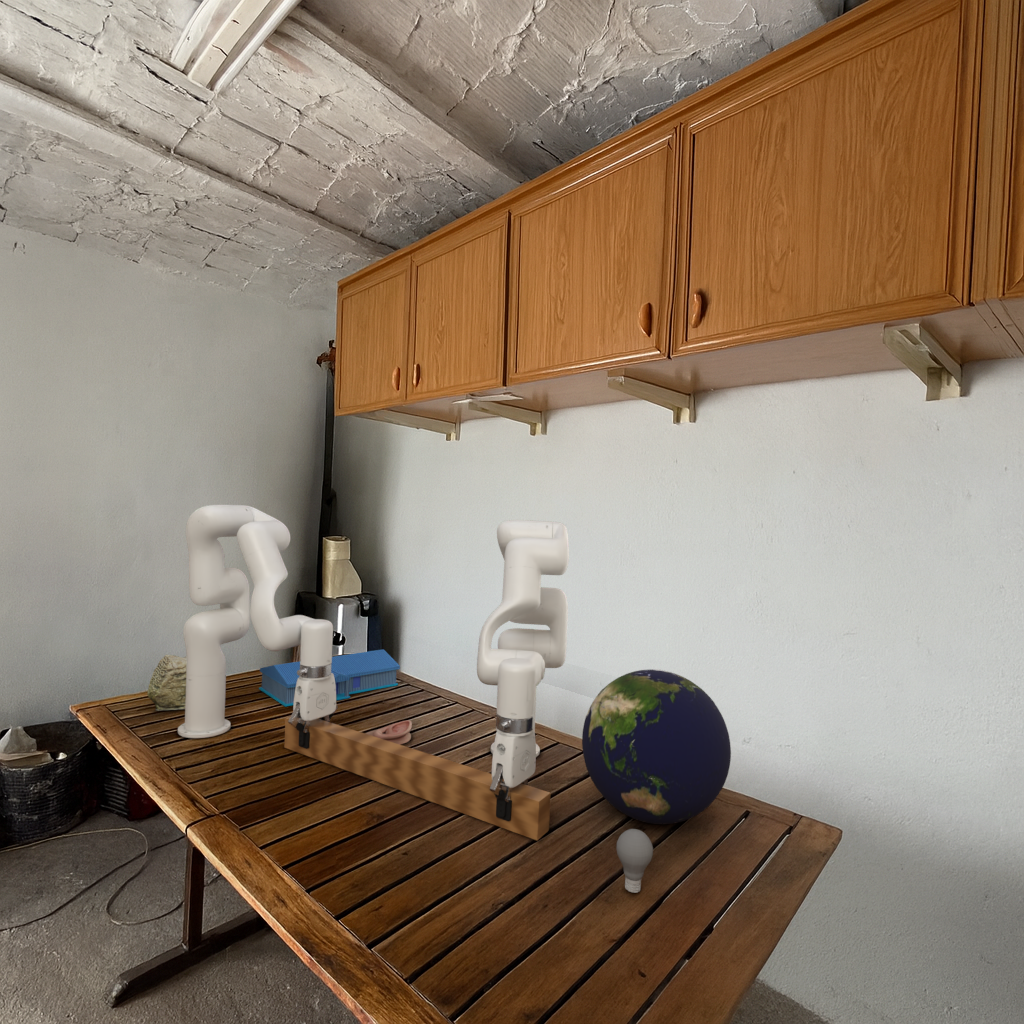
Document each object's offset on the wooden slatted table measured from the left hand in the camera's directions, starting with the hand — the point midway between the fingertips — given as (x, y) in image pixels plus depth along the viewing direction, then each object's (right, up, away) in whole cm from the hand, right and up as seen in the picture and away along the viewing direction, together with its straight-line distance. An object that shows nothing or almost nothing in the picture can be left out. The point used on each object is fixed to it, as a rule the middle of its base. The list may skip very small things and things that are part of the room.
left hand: (312, 743), depth 156 cm
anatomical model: (+16, -3, +10) cm, 19 cm away
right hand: (+49, -3, -30) cm, 58 cm away
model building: (-10, -1, +51) cm, 52 cm away
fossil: (-47, 0, +29) cm, 55 cm away
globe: (+78, -6, -25) cm, 82 cm away
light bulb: (+69, -6, -51) cm, 86 cm away
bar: (+24, -4, -15) cm, 29 cm away
